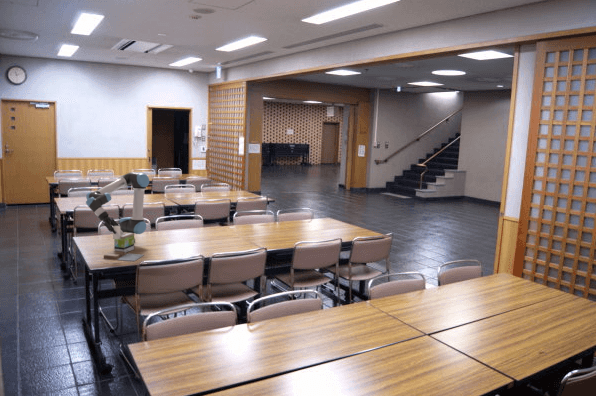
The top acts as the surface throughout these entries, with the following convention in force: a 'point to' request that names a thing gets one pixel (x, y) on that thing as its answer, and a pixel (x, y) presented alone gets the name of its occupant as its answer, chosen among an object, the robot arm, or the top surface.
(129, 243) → the tea box
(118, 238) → the ceramic canister
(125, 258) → the slate mat
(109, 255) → the walnut deck
